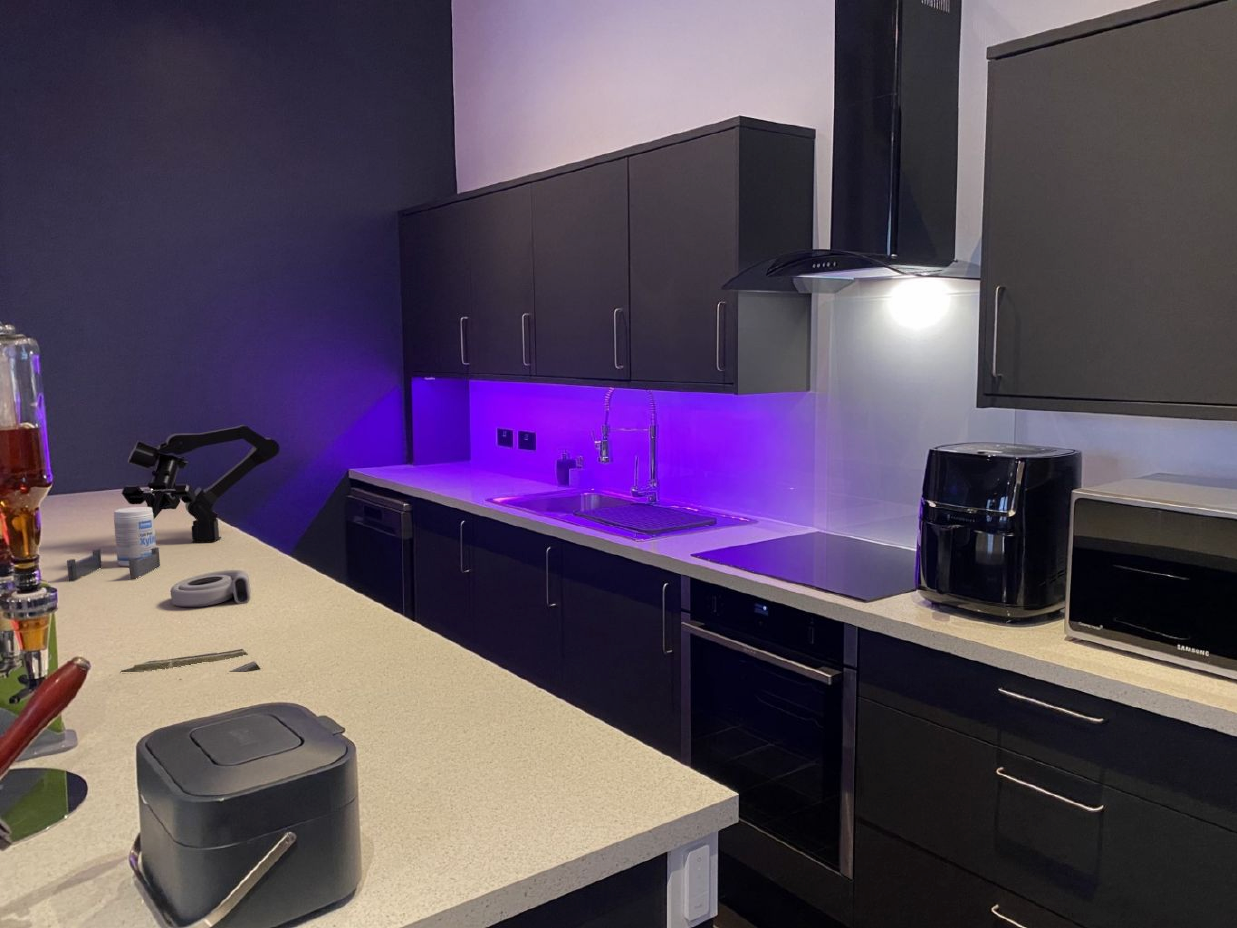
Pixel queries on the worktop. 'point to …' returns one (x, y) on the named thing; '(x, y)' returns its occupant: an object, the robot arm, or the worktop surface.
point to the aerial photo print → (194, 662)
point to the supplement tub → (134, 533)
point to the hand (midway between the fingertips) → (151, 519)
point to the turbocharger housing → (212, 589)
